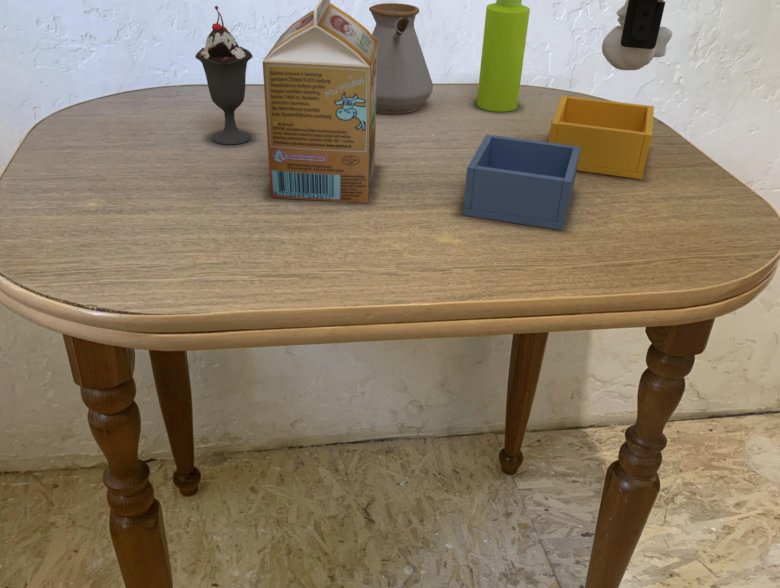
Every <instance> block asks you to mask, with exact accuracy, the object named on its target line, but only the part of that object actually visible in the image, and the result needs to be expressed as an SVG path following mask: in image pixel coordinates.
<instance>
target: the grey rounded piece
mask: <svg viewBox="0 0 780 588" xmlns="http://www.w3.org/2000/svg"><path fill="white" fill-rule="evenodd" d="M628 2H629V0H626V1H625V2H624V5H623V6H622V7H621V8H619V10H617V11H616V16H618V18H617V22H618V23H619V24H620V25H616V26H614V27H613V28H612V29H611V30H610V31H609V32H608V33H607V34H606V35H605V37H604V38H603V40H602V43H601V53H602V55H603V57H604V58H605V60H606V62H608V63H609V64H610V65H611V66H612V67H613V68H614V69H617V70H620V71H638V70H640V69H642V68H644V67H645V66H648V65H649V64H650V63H651V61H652V60H653V59H654V58H662V57H665V55H666V54H667V45H668V44H669V42H670V40H671V38H672V37H673V31H672V30H671V29H670V28H668V27H666V26H660V29H659V33H658V38H657V42H656V46H655V48H653V49H642V48H631V47H623V46H622V45H621V37H622V32H623V27H624V22H625V17H626V12H627V7H628Z"/></svg>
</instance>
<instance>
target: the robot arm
mask: <svg viewBox="0 0 780 588" xmlns="http://www.w3.org/2000/svg"><path fill="white" fill-rule="evenodd" d="M665 6H666V1H664V0H629V2H628V7H627V12H626V17H625V22H624V27H623V32H622V37H621V45H622V46H623V47H631V48H642V49H653V48H655V46H656V42H657V38H658V33H659V29H660V27H661V24H662V21H663V20H662V19H663V16H664V11H665Z"/></svg>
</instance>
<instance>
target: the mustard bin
mask: <svg viewBox="0 0 780 588" xmlns="http://www.w3.org/2000/svg"><path fill="white" fill-rule="evenodd" d="M654 111H655V106H654V105H647V104H639V103H629V102H621V101H613V100H604V99H596V98H587V97H580V96H579V97H578V96H571V95H569V96H568V95H563V94H562V95H561V97H560V99H559V102H558V105H557V107H556V110H555V112H554V114H553V118H552V120H551V123H550V127H549V135H548V140H547V142H549V143H557V144H565V145H572V146H579V147H581V150H580V155H579V160H578V166H577V171H576V172H585V173H591V174H592V173H593V174H598V175H599V174H600V175H605V176H607V175H608V176H614V177H622V178H629V179H637V180H642V179H643V176H644V171H645V167H646V163H647V159H648V154H649V151H650V147H651V144H652V143H651V141H652V138H653V130H654Z"/></svg>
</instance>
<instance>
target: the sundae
mask: <svg viewBox="0 0 780 588" xmlns="http://www.w3.org/2000/svg"><path fill="white" fill-rule="evenodd" d="M214 9H215V10H216V12H217V20H216V22H215V23H213V24H212V25H211V29H212V30H211V31H210V33H209V34H207V37H206V41H205V46H204V47H202V48H201V49H200V50H199V51H197V52H196V53H195V59H197V60H198V61H200V63H201V64H202V67H203V71H204V74H205V78H206V84H207V88H208V91H209V95H210V99H211V100H212V102H213V104H215V105H216V107H217V108H219V109H220V110H221V111H223V114H224V127H223V129H222V130H220V131H218V132H215V133H214V134H212V135H211V140H212V141H213V142H215V143H217V144H220V145H225V146H226V145H227V146H235V145H240V144H241V145H242V144H245V143H247V142H249V141H250V140H251V139H252V135H251V134H250V133H249V132H247V131H244V130H240V129H239V128H238V126H237V124H236V118H235V112H236V110H237V109H238V108H239V107H240V106H241V105H242V104H243V102H244V101H245V96H246V95H245V94H246V73H247V66H248V63H249V60H251V59H252V58H253V54H252V53H251V51H249V50H248V49H247V48H244V47H243V46H239V44H238V42H237V41H236V38H235V37H234V36H233V34H232V33H231V32H230V31H229V30H228V28H227V27H226V26H225V25H224V20H223V17H222V14H221V12H220V11H219V6H218V5H215V6H214ZM219 20H220V21H221V24H220V23H219V22H220V21H219Z"/></svg>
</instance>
